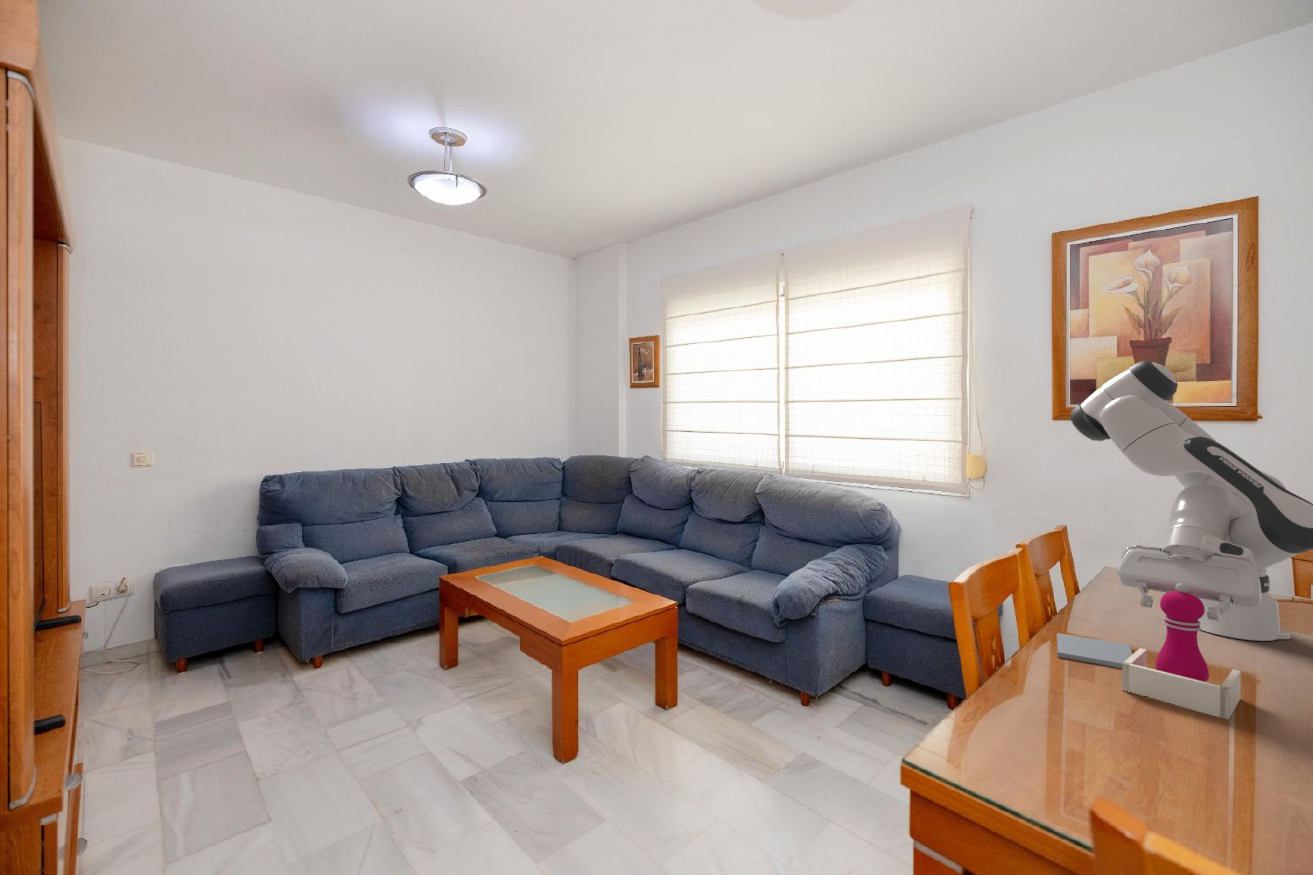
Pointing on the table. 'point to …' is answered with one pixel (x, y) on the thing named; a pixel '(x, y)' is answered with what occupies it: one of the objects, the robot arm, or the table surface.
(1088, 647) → the pad
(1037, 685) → the table surface
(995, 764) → the table surface
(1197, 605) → the pepper mill
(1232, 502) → the robot arm
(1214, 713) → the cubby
